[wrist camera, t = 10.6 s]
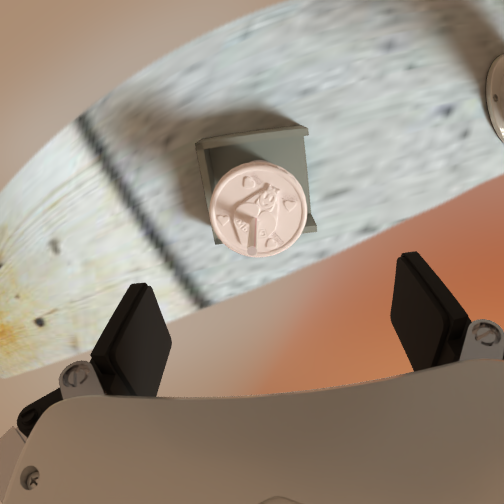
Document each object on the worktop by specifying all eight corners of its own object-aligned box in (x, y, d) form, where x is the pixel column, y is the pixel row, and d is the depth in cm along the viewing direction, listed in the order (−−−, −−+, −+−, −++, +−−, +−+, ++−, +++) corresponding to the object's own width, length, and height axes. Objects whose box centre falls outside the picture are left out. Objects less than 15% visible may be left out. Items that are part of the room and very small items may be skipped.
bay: (301, 125, 26) (307, 128, 23) (310, 217, 31) (316, 231, 27) (201, 139, 27) (195, 143, 24) (219, 229, 31) (215, 244, 28)
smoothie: (213, 192, 29) (176, 263, 16) (244, 132, 26) (229, 156, 14) (272, 222, 30) (279, 311, 18) (306, 166, 28) (344, 220, 15)
